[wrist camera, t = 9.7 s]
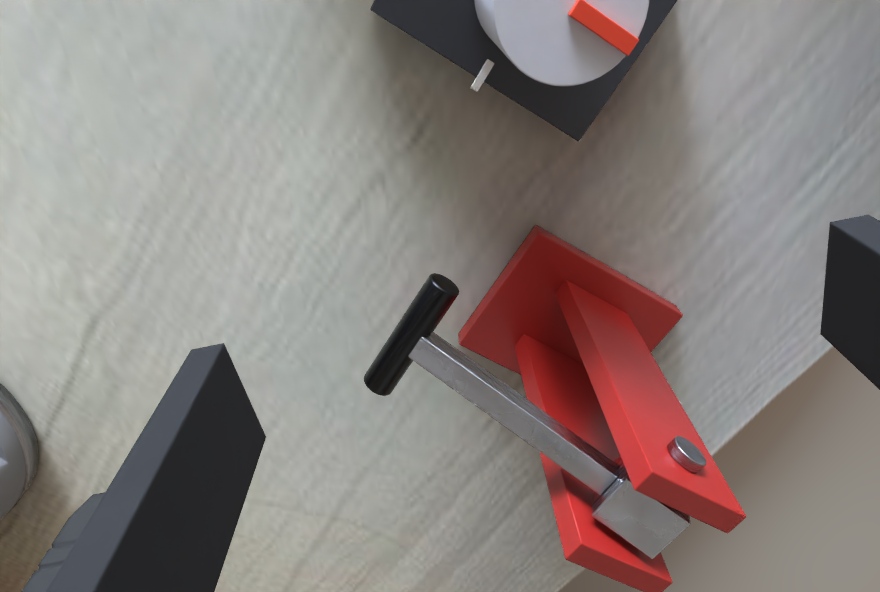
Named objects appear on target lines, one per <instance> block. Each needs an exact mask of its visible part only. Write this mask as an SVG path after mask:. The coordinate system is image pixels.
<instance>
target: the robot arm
mask: <svg viewBox="0 0 880 592" xmlns="http://www.w3.org/2000/svg"><path fill="white" fill-rule="evenodd" d="M821 335H822V336H823V337H824V338H825V339H826V340H827V341H829V342H830V343H831V344H832V345H833V346H834V347H835V348H836V349H837V350H838V351H839V352H840V353H841V354H842V355H843V356H844V357H846V358H847V359H848V360H849V361H850V362H851V363H852V364H853V365H854V366H855V367H856V368H857V369H858V370H859V371H860V372H861V373H863V374H864V375H865V376H866V377H867V378H868V379H869V380H870V381H871V382H872V383H873V384H874V385H875V386H876V387H877V388H878V389H880V221H879V220H877V219H875V218H873V217H872V216H870V215H864V216H859V217H854V218H849V219H844V220H839V221H834V222H830V229H829V241H828V252H827V264H826V276H825V287H824V299H823V311H822V322H821ZM265 438H266V436H265V434H264V431H263V429H262V427H261V425H260V423H259V420H258V418H257V416H256V414H255V411H254V409H253V407H252V405H251V403H250V400H249V398H248V396H247V394H246V391H245V389H244V387H243V385H242V382H241V380H240V378H239V376H238V374H237V371H236V369H235V367H234V365H233V362H232V360H231V358H230V356H229V354H228V351H227V349H226V347H225V345H224V343H223V344H218V345H213V346H208V347H203V348H198V349H193V350H191V351H190V353H189V355H188V356H187V358H186V360H185V361H184V363H183V365H182V366H181V368H180V370H179V371H178V373H177V375H176V376H175V378H174V380H173V381H172V383H171V385H170V386H169V388H168V389H167V391H166V393H165V394H164V396H163V398H162V399H161V401H160V403H159V404H158V406H157V408H156V409H155V411H154V413H153V414H152V416H151V418H150V419H149V421H148V423H147V424H146V426H145V428H144V429H143V431H142V433H141V434H140V436H139V438H138V439H137V441H136V443H135V444H134V446H133V448H132V449H131V451H130V453H129V454H128V456H127V458H126V459H125V461H124V463H123V464H122V466H121V468H120V469H119V471H118V473H117V474H116V476H115V478H114V479H113V481H112V483H111V484H110V486H109V488H108V489H107V491H106V492H105V493H100V494H94V495H92V496H91V497H90V498H89V499H88V500H87V501H86V502H85V503H84V504H83V505H82V506H81V507H80V508H79V509H78V510H77V511H76V512H75V513H74V514H73V515H72V516H71V517H69V518H68V520H67V521H66V523H65V525H64V526H63V528H62V529H61V531H60V532H59V534H58V535H57V537H56V539H55V540H54V542H53V543H52V549H49V550H48V551H47V553H46V554H45V556H44V557H43V559H42V560H41V562H40V564H39V565H38V566H39V569H38V570H37V571H34V573H33V574H32V576H31V578H30V579H29V581H28V582H27V584H26V585H25V587H24V589H23V590H22V592H214V591H215V588H216V585H217V582H218V579H219V576H220V573H221V570H222V567H223V564H224V561H225V558H226V555H227V552H228V549H229V546H230V543H231V540H232V537H233V534H234V531H235V528H236V525H237V522H238V519H239V516H240V513H241V510H242V507H243V504H244V501H245V498H246V495H247V492H248V489H249V486H250V483H251V480H252V477H253V474H254V471H255V468H256V465H257V462H258V459H259V456H260V453H261V450H262V447H263V444H264V441H265ZM37 466H38V445H37V440H36V437H35V433H34V431H33V428H32V425H31V423H30V421H29V419H28V418H27V416H26V414H25V412H24V411H23V409H22V408H21V406H20V405H19V404H18V402H17V401H16V400H15V398H14V397H13V396H12V395H11V394H10V393H9V392H8V391H7V389H6V388H5V387H4V386H3V385H2V384H0V520H1V519H2V518H3V517H4V516H5V515H6V514H7V513H8V512H9V511H10V510H11V509H12V508H13V507H14V506H15V505H16V504H17V502H18V501H19V500H20V498H21V497H22V496H23V494H24V493H25V492H26V490H27V489H28V487H29V486H30V484H31V483H32V481H33V479H34V477H35V474H36V470H37Z"/></svg>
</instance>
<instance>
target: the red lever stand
mask: <svg viewBox="0 0 880 592" xmlns="http://www.w3.org/2000/svg"><path fill="white" fill-rule="evenodd" d="M682 316H683V314H682V313H681V312H680V310H679V309H678V308H677V306H676V305H674V304H672V303H671V302H669V301H667V300H665V299H664V298H662V297H660V296H659V295H657V294H655V293H653V292H652V291H650V290H648V289H646V288H645V287H643V286H641V285H639V284H638V283H636V282H634V281H633V280H631V279H629V278H627V277H626V276H624V275H622V274H620V273H619V272H617V271H615V270H613V269H612V268H610V267H608V266H607V265H605V264H603V263H601V262H600V261H598V260H596V259H594V258H593V257H591V256H589V255H587V254H586V253H584V252H582V251H581V250H579V249H577V248H575V247H574V246H572V245H570V244H568V243H567V242H565V241H563V240H561V239H560V238H558V237H556V236H554V235H553V234H551V233H549V232H548V231H546V230H544V229H542V228H541V227H539V226H537V225H535V226H534V228H533V229H532V231H531V232H530V233H529V235H528V236H527V238H526V239H525V240H524V242H523V243H522V245H521V246H520V247H519V249H518V250H517V252H516V253H515V255H514V256H513V257H512V259H511V260H510V262H509V263H508V264H507V266H506V267H505V269H504V270H503V272H502V273H501V274H500V276H499V277H498V279H497V280H496V281H495V283H494V284H493V286H492V287H491V288H490V290H489V291H488V293H487V294H486V296H485V297H484V298H483V300H482V301H481V303H480V304H479V305H478V307H477V308H476V310H475V311H474V312H473V314H472V315H471V317H470V318H469V320H468V321H467V322H466V324H465V325H464V327H463V328H462V329H461V331H460V332H459V334H458V336H459V344H460V345H461V346H463V347H465V348H467V349H469V350H471V351H473V352H475V353H477V354H479V355H481V356H483V357H486V358H488V359H490V360H492V361H494V362H496V363H498V364H500V365H502V366H504V367H506V368H508V369H510V370H512V371H514V372H516V373H518V374H520V375H521V376H522V380H523V384H524V388H525V393H526V397H527V399H528V400H529V401H530V402H532V403H533V404H535V405H536V406H537V407H539V408H540V409H542V410H543V411H544V412H546V413H547V414H549V415H550V416H551V417H553V418H554V419H556V420H557V421H558V422H560V423H561V424H563V425H564V426H565V427H567V428H568V429H569V430H571V431H572V432H574V433H575V434H576V435H578V436H579V437H581V438H582V439H583V440H585V441H586V442H588V443H589V444H590V445H592V446H593V447H595V448H596V449H597V450H599V451H600V452H602V453H603V454H604V455H606V456H607V457H609V458H610V459H611V460H613V461H614V460H615V459H616V458H617V457H618V456H619V455H620V456H621V458H622V461H623V463H624V466H625V468H626V471H627V473H628V476H629V478H630V481H631V483H632V486H633V488H634V490H635V491H637V492H640V493H642V494H644V495H646V496H648V497H650V498H652V499H655V500H657V501H659V502H661V503H663V504H665V505H667V506H670V507H672V508H674V509H676V510H678V511H680V512H683V513H685V514H687V515H689V516H691V517H693V518H695V519H698V520H700V521H702V522H704V523H706V524H708V525H711V526H713V527H715V528H717V529H719V530H721V531H723V532H726V533H729V532H730V531H731V530H732V529H733V528H735V527H736V526H737V525H738V524H739V523H740V522H741V521H742V520H744V519H745V518H746V515H745V513H744V512H743V510H742V508H741V506H740V505H739V503H738V501H737V500H736V498H735V496H734V495H733V493H732V491H731V489H730V488H729V486H728V484H727V483H726V481H725V479H724V477H723V476H722V474H721V472H720V471H719V469H718V467H717V465H716V464H715V462H714V460H713V459H712V457H711V455H710V453H709V452H708V450H707V448H706V447H705V445H704V443H703V441H702V440H701V438H700V436H699V435H698V433H697V431H696V430H695V428H694V426H693V424H692V423H691V421H690V419H689V418H688V416H687V414H686V412H685V411H684V409H683V407H682V406H681V404H680V402H679V400H678V399H677V397H676V395H675V394H674V392H673V390H672V388H671V387H670V385H669V383H668V382H667V380H666V378H665V377H664V375H663V373H662V371H661V370H660V368H659V366H658V365H657V363H656V361H655V359H654V358H653V356H652V354H651V352H652V350H653V349H654V348H655V347H656V346H657V345H658V344H659V342H660V341H661V340H662V339H663V338H664V337H665V336H666V335H667V333H668V332H669V331H670V330H671V329H672V328H673V327H674V326H675V324H676V323H677V322H678V321H679V320H680V319H681V318H682ZM540 455H541V459H542V463H543V468H544V472H545V476H546V480H547V484H548V488H549V493H550V497H551V501H552V505H553V509H554V513H555V518H556V522H557V526H558V530H559V534H560V538H561V543H562V547H563V551H564V555H565V559H566V560H568V561H570V562H573V563H575V564H578V565H580V566H582V567H585V568H587V569H590V570H592V571H595V572H597V573H599V574H602V575H604V576H607V577H609V578H612V579H614V580H616V581H619V582H621V583H624V584H626V585H628V586H631V587H633V588H636V589H638V590H641V591H643V592H663V591H664V590H665V589H666V588H667V587H668V586H669V585H670V584H672V579H671V577H670V575H669V572H668V569H667V567H666V565H665V562H664V560H663V557H662V555H661V552H660V553H659V554H658V555H657V556H656V557H655V558H654V559H650V558H649V557H648V556H646V555H645V554H644V553H642V552H641V551H639V550H638V549H637V548H635V547H634V546H633V545H631V544H630V543H628V542H627V541H626V540H624V539H623V538H621V537H620V536H619V535H617V534H616V533H615V532H613V531H612V530H610V529H609V528H608V527H606V526H605V525H604V524H602V523H601V522H599V521H598V520H597V519H595V518H594V517H593V516H592V506H593V494H594V490H592V489H591V488H589V487H588V486H587V485H585V484H584V483H583V482H581V481H580V480H578V479H577V478H576V477H574V476H573V475H571V474H570V473H569V472H567V471H566V470H564V469H563V468H562V467H560V466H559V465H558V464H556V463H555V462H553V461H552V460H551V459H549V458H548V457H546V456H545V455H544V454H542V453H541V452H540Z"/></svg>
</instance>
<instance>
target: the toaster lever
mask: <svg viewBox="0 0 880 592" xmlns="http://www.w3.org/2000/svg"><path fill="white" fill-rule="evenodd" d="M458 294H459V289H458V288H457V286H456V285H455V284H454V283H453V282H452V281H451V280H449V279H448V278H446V277H445V276H442V275H440V274H436V273H433V274H431V275H430V276H429V277H428V279H427V280H426V282H425V283H424V285H423V287H422V288H421V290H420V291H419V293H418V294H417V296H416V297H415V299H414V300H413V302H412V303H411V305H410V306H409V308H408V310H407V311H406V313H405V314H404V316H403V317H402V319H401V320H400V322H399V323H398V325H397V326H396V328H395V329H394V331H393V333H392V334H391V336H390V337H389V339H388V340H387V342H386V343H385V345H384V346H383V348H382V349H381V351H380V353H379V354H378V356H377V357H376V359H375V360H374V362H373V363H372V365H371V366H370V368H369V369H368V371H367V372H366V374H365V376H364V382H365V384H366V386H367V387H368V388H369V389H370V390H371V391H372V392H374V393H376V394H378V395H382V396H386V395H389V394H390V393H391V392H392V391H393V389H394V388H395V386H396V385H397V383H398V382H399V381H400V379H401V378H402V376H403V375H404V373H405V372H406V370H407V369H408V367H409V366H410V365H411V363H412V362H413V361H415V362H416V363H417V364H419V365H420V366H422V367H423V368H424V369H426V370H427V371H429V372H430V373H431V374H433V375H434V376H435V377H437V378H438V379H440V380H441V381H442V382H444V383H445V384H447V385H448V386H449V387H451V388H452V389H454V390H455V391H456V392H458V393H459V394H460V395H462V396H463V397H465V398H466V399H467V400H469V401H470V402H472V403H473V404H474V405H476V406H477V407H478V408H480V409H481V410H483V411H484V412H485V413H487V414H488V415H490V416H491V417H492V418H494V419H495V420H497V421H498V422H499V423H501V424H502V425H503V426H505V427H506V428H508V429H509V430H510V431H512V432H513V433H515V434H516V435H517V436H519V437H520V438H521V439H523V440H524V441H526V442H527V443H528V444H530V445H531V446H533V447H534V448H535V449H537V450H538V451H540V452H541V453H542V454H544V455H545V456H546V457H548V458H549V459H551V460H552V461H553V462H555V463H556V464H558V465H559V466H560V467H562V468H563V469H564V470H566V471H567V472H569V473H570V474H571V475H573V476H574V477H576V478H577V479H578V480H580V481H581V482H583V483H584V484H585V485H587V486H588V487H589V488H591V489H592V490H594V494H593V506H592V516H593V517H594V518H595V519H597V520H598V521H599V522H601V523H602V524H604V525H605V526H606V527H608V528H609V529H610V530H612V531H613V532H615V533H616V534H617V535H619V536H620V537H621V538H623V539H624V540H626V541H627V542H628V543H630V544H631V545H633V546H634V547H635V548H637V549H638V550H639V551H641V552H642V553H644V554H645V555H646V556H648V557H649V558H650V559H654V558H655V557H656V556H657V555H658V554H659V553H660V552H661V551H662V550H663V549H664V548H665V547H666V546H668V545H669V544H670V543H671V542H672V541H673V540H674V539H675V538H676V537H677V536H678V535H679V534H680V533H682V532H683V531H684V530H685V529H686V528H687V527H688V526H689V525H690V517H689V515H687V514H685V513H683V512H680V511H678V510H676V509H674V508H672V507H670V506H667V505H665V504H663V503H661V502H659V501H657V500H655V499H652V498H650V497H648V496H646V495H644V494H642V493H640V492H637V491H635V490H634V488H633V486H632V483H631V481H630V478H629V476H628V473H627V471H626V468H625V466H624V463H623V461H622V458H621V456H620V455H619V456H618V457H617V458H616V459H615V460H614V461H613V460H611V459H610V458H609V457H607V456H606V455H604V454H603V453H602V452H600V451H599V450H597V449H596V448H595V447H593V446H592V445H590V444H589V443H588V442H586V441H585V440H583V439H582V438H581V437H579V436H578V435H576V434H575V433H574V432H572V431H571V430H569V429H568V428H567V427H565V426H564V425H563V424H561V423H560V422H558V421H557V420H556V419H554V418H553V417H551V416H550V415H549V414H547V413H546V412H544V411H543V410H542V409H540V408H539V407H537V406H536V405H535V404H533V403H532V402H530V401H529V400H528V399H526V398H525V397H523V396H522V395H521V394H519V393H518V392H516V391H515V390H514V389H512V388H511V387H509V386H508V385H507V384H505V383H504V382H502V381H501V380H500V379H498V378H497V377H495V376H494V375H493V374H491V373H490V372H488V371H487V370H486V369H484V368H483V367H481V366H480V365H479V364H477V363H476V362H474V361H473V360H472V359H470V358H469V357H467V356H466V355H465V354H463V353H462V352H461V351H459V350H458V349H456V348H455V347H454V346H452V345H451V344H449V343H448V342H447V341H445V340H444V339H442V338H441V337H440V336H438V335H437V334H435V333H434V332H433V331H434V329H435V328H436V327H437V325H438V324H439V322H440V321H441V319H442V318H443V316H444V315H445V313H446V312H447V311H448V309H449V308H450V306H451V305H452V303H453V302H454V300H455V299H456V297H457V296H458Z"/></svg>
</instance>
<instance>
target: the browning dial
mask: <svg viewBox="0 0 880 592" xmlns="http://www.w3.org/2000/svg"><path fill="white" fill-rule="evenodd" d="M474 2H475V9H476V13H477V17H478V19H479V22H480V24H481V26H482V28H483V29H484V31H485V32H486V34H487V35H488V36H489V38H490V39H491V40H492V41H493V42H494V43H495V44H496V45H497V46H498V48H499V49H500V50H501V51H502V52H503V53H504V54H505V55H506V57H507V58H508V59H509V60H510V61H511V62H512V63H513V64H514V65H515V66H516V67H517V68H518V69H519V70H520V71H521V72H523V73H524V74H525V75H527V76H528V77H530V78H532V79H534V80H536V81H538V82H541V83H544V84H548V85H553V86H574V85H580V84H584V83H587V82H590V81H592V80H594V79H597V78H599V77H601V76H602V75H604V74H605V73H607V72H609V71H610V70H611V69H613V68H614V67H615V66H616V65H617V64H618V63H619V62H620V61H621V60H622V59H623V58H624V57H625V56H626V55H627V56H629V55H630V53H631V52H632V50H633V49H634V47H635V46H636V44H637V43H638V41H639V39H638V37H639V35H640V33H641V31H642V28H643V26H644V23H645V20H646V16H647V12H648V7H649V0H474Z"/></svg>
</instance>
